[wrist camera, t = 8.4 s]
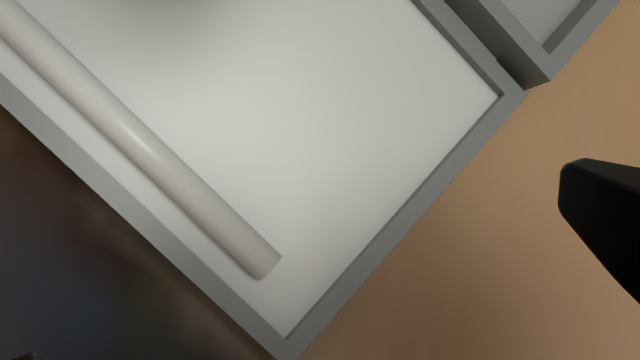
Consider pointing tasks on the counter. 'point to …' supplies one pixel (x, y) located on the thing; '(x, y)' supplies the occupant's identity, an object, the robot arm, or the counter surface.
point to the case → (532, 32)
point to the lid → (258, 133)
